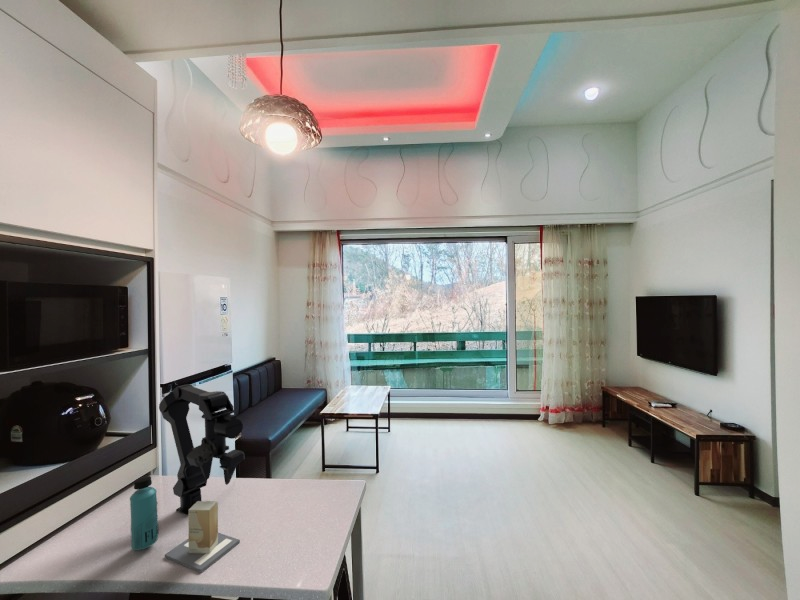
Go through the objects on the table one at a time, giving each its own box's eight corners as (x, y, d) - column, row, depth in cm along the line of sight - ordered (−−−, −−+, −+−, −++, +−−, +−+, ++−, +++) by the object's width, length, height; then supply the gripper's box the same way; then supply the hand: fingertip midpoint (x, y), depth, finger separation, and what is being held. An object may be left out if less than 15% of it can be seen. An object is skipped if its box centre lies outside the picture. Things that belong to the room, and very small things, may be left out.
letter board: (164, 557, 95) (164, 554, 95) (204, 530, 106) (204, 527, 106) (201, 572, 89) (201, 569, 89) (239, 542, 100) (239, 539, 100)
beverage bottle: (144, 557, 96) (141, 485, 96) (124, 554, 97) (122, 483, 97) (164, 541, 102) (162, 473, 102) (146, 538, 103) (143, 472, 103)
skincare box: (188, 554, 95) (186, 509, 95) (197, 543, 99) (196, 500, 99) (210, 553, 95) (209, 509, 95) (219, 542, 99) (218, 500, 99)
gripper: (171, 438, 106) (172, 489, 106) (213, 446, 99) (214, 501, 99) (204, 426, 117) (205, 472, 117) (244, 432, 109) (246, 481, 109)
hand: (217, 481), depth 110 cm, fingers open, 9 cm apart
